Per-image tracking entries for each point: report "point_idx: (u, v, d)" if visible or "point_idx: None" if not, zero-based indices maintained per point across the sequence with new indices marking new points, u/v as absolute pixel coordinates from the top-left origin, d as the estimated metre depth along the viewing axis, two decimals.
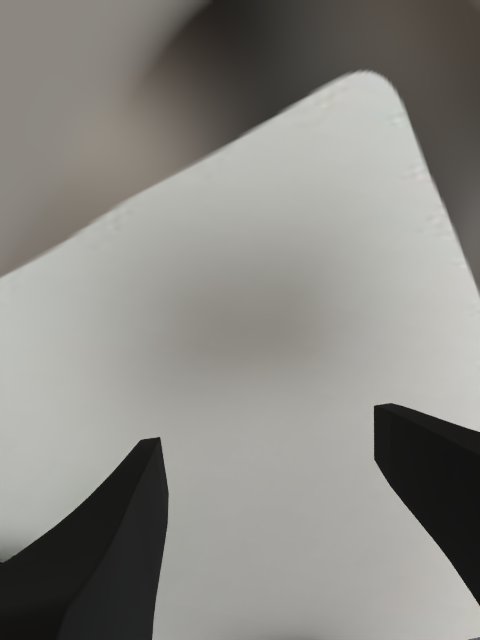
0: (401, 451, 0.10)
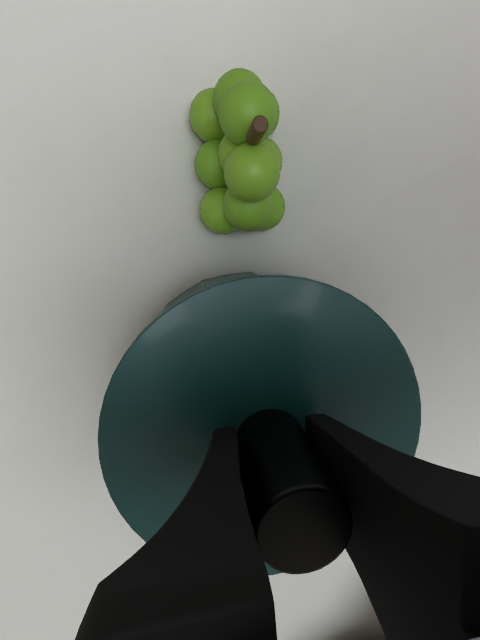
0: None
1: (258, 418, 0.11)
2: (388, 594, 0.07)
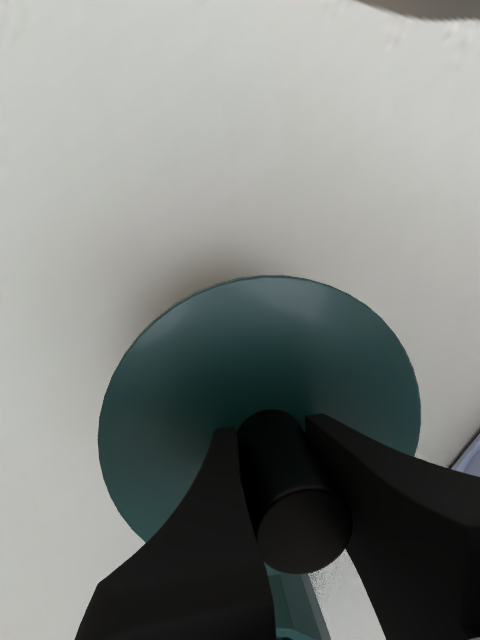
0: None
1: (258, 419, 0.11)
2: (388, 595, 0.07)
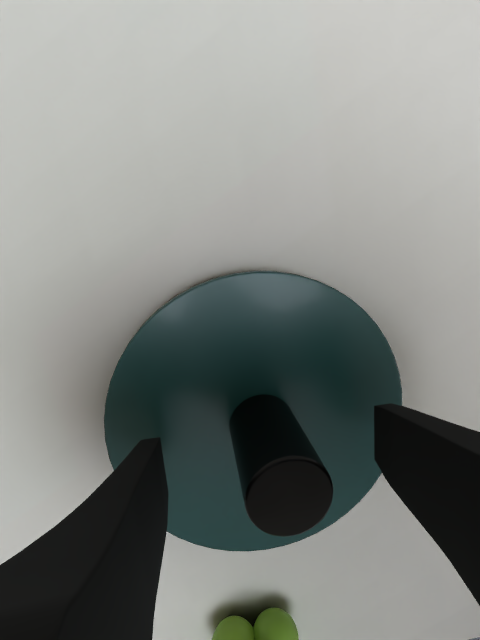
0: (401, 451, 0.10)
1: (251, 402, 0.12)
2: None
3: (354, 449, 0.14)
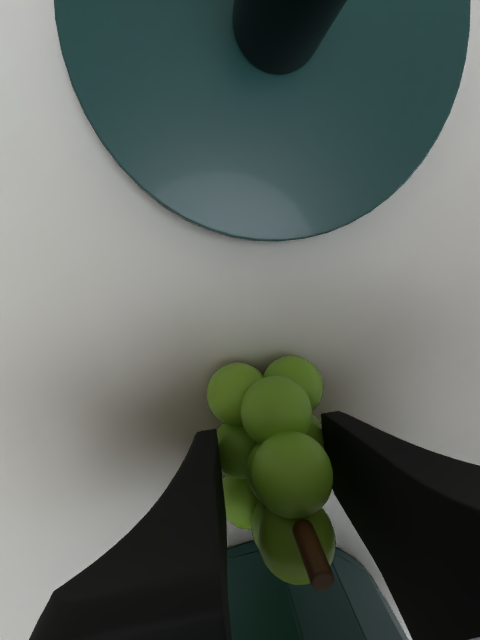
0: (342, 461, 0.10)
1: None
2: (413, 589, 0.07)
3: (404, 90, 0.10)
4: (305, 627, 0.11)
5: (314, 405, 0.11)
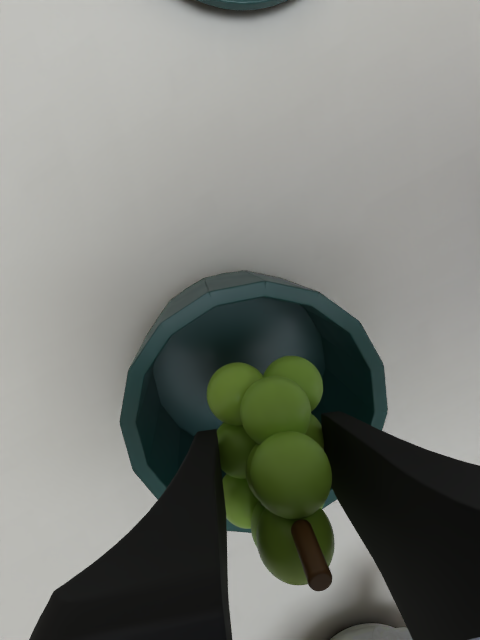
0: (342, 461, 0.10)
1: None
2: (413, 589, 0.07)
3: None
4: (258, 276, 0.15)
5: (314, 405, 0.11)
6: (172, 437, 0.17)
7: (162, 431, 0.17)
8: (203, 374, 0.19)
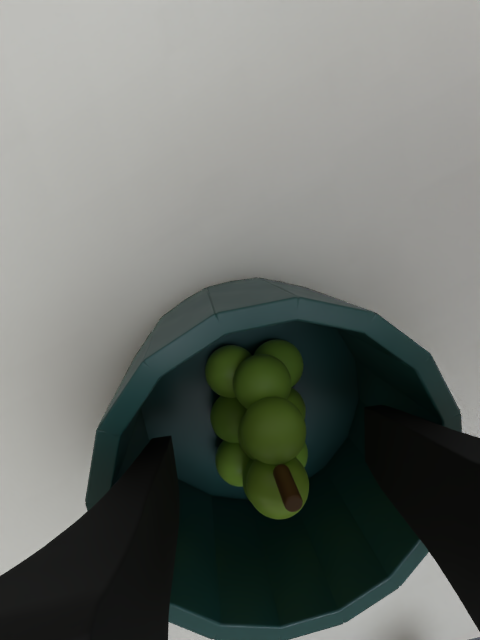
0: (390, 453, 0.10)
1: None
2: (478, 576, 0.07)
3: None
4: (281, 287, 0.11)
5: (295, 380, 0.13)
6: None
7: None
8: (205, 409, 0.15)
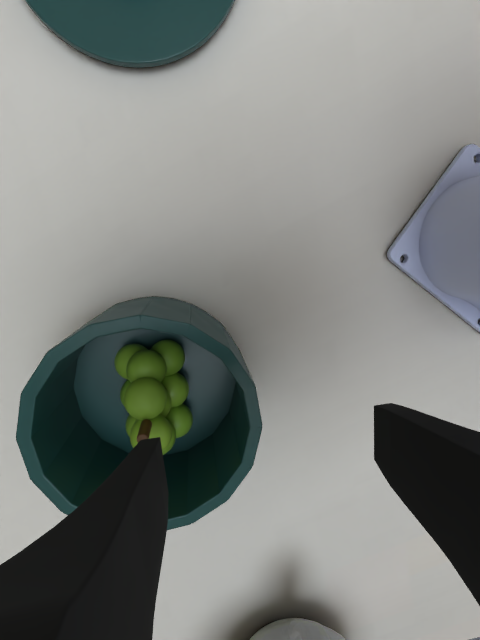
0: (401, 451, 0.10)
1: None
2: None
3: None
4: (152, 305, 0.17)
5: (175, 367, 0.19)
6: (87, 447, 0.19)
7: (75, 443, 0.19)
8: None
